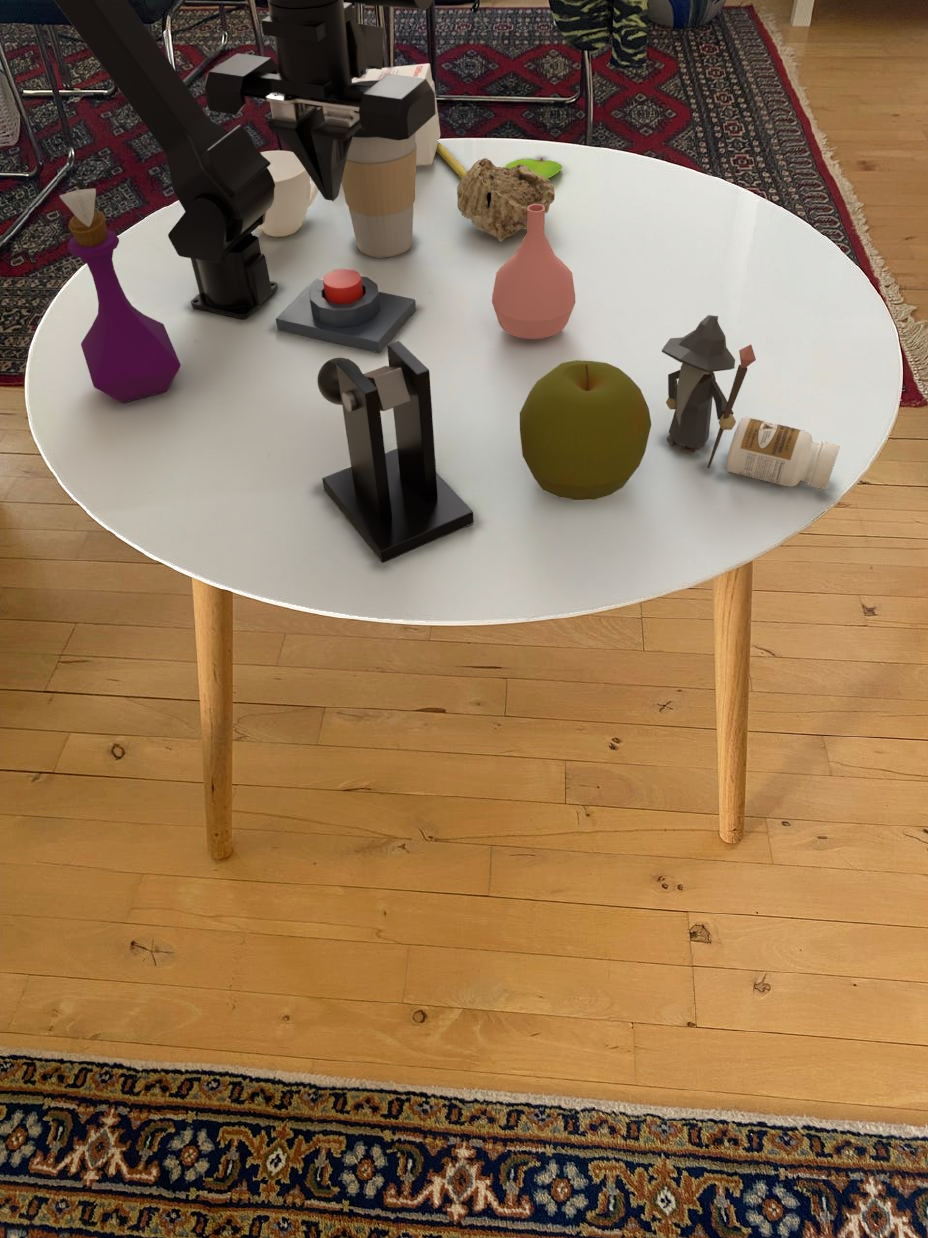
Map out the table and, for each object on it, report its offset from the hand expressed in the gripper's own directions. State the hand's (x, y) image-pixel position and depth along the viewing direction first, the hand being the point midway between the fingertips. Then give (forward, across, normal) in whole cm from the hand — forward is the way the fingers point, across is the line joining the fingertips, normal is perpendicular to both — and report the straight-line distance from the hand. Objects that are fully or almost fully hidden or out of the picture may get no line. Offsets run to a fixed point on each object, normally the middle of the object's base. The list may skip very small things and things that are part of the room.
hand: (331, 198), depth 87 cm
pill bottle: (+10, -39, +8) cm, 41 cm away
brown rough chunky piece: (+12, -7, -23) cm, 27 cm away
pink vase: (+12, -18, -4) cm, 22 cm away
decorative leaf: (+14, -6, -36) cm, 39 cm away
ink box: (+8, +18, -32) cm, 38 cm away
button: (+9, 0, 0) cm, 9 cm away
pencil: (+11, +4, -34) cm, 36 cm away
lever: (+5, -14, +21) cm, 25 cm away
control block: (+12, 0, 0) cm, 12 cm away
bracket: (+12, -16, +22) cm, 30 cm away
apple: (+12, -29, +14) cm, 34 cm away
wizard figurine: (+12, -36, +7) cm, 39 cm away
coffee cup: (+12, +4, -14) cm, 19 cm away
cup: (+12, +15, -15) cm, 25 cm away
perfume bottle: (+12, +12, +16) cm, 24 cm away
